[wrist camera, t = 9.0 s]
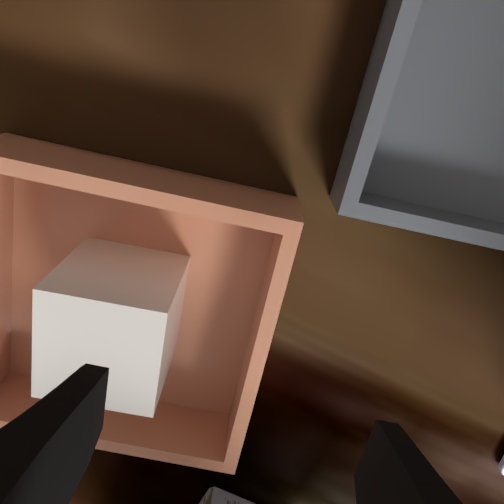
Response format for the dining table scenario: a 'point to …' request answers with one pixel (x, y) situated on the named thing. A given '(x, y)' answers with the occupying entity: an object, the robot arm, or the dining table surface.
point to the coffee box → (222, 497)
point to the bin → (196, 294)
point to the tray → (430, 124)
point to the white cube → (110, 321)
